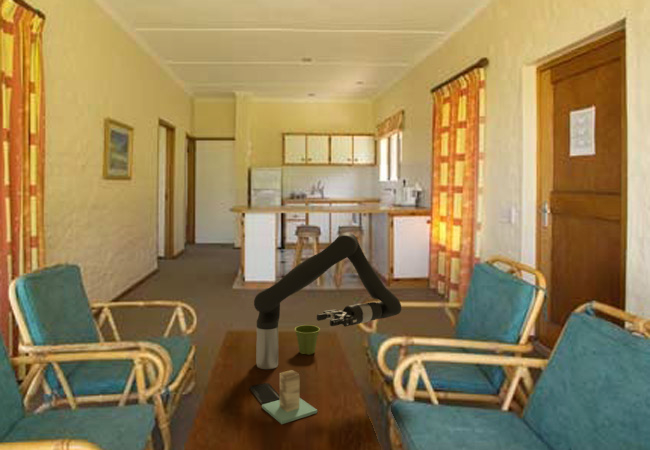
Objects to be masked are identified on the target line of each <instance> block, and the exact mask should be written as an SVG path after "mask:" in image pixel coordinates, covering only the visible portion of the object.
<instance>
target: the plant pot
mask: <svg viewBox="0 0 650 450" xmlns="http://www.w3.org/2000/svg"><path fill="white" fill-rule="evenodd" d="M294 331H295V336H296V338H297V345H298V346H297V347H298V352H299V353H300V354H301V355H307V356H309V355H313V354H314V353H315V352H316V347H317V341H318V336H319V332H320V331H321V328H320V327H319V326H317V325H313V324H303V325H302V324H301V325H299V326H298V325H297V326H295V328H294Z"/></svg>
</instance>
